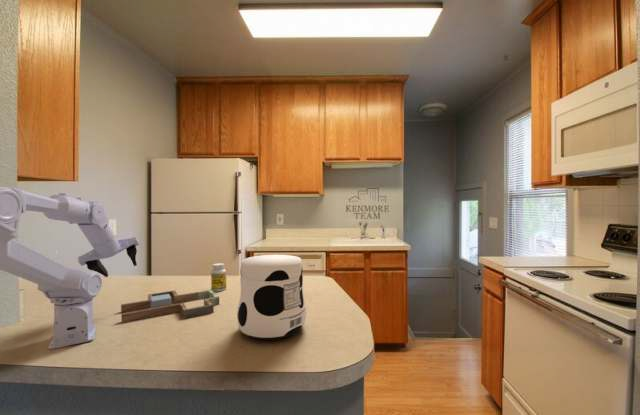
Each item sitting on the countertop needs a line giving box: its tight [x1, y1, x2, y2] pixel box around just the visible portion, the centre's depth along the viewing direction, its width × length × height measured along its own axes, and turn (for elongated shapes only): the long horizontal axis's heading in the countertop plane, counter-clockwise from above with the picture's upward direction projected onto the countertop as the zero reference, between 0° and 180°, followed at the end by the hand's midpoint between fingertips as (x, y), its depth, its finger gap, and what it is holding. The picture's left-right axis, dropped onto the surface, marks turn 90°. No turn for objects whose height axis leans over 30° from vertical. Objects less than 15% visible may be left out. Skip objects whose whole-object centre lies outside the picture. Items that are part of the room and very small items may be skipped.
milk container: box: [236, 254, 307, 341], centre depth 75 cm, size 17×17×18 cm
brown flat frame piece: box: [120, 289, 220, 323], centre depth 91 cm, size 23×26×2 cm
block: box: [150, 294, 172, 309], centre depth 89 cm, size 5×5×4 cm
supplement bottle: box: [210, 262, 227, 292], centre depth 110 cm, size 5×5×10 cm
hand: (121, 269), depth 89 cm, fingers open, 7 cm apart
